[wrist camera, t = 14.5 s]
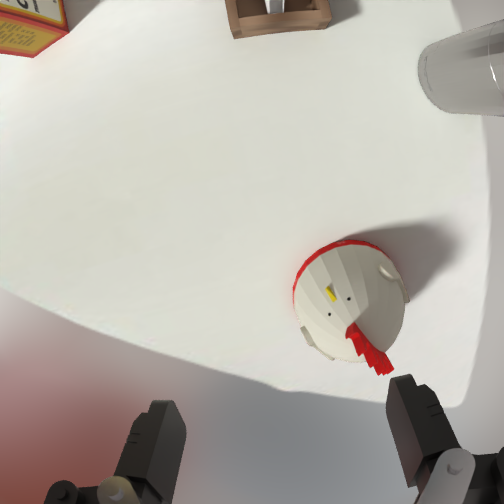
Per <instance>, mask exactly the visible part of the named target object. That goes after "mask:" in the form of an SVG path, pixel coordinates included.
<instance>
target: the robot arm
mask: <svg viewBox="0 0 504 504" xmlns="http://www.w3.org/2000/svg"><path fill="white" fill-rule="evenodd" d="M418 76H419V80H420V83H421V86H422V88H423V90H424V92H425V94H426V95H427V97H428V98H429V99H430V100H431V102H432V103H433V104H434V105H436V106H437V107H438V108H439V109H441V110H443V111H445V112H448V113H455V114H473V115H489V116H503V117H504V19H503V20H500V21H497V22H493V23H490V24H487V25H484V26H481V27H478V28H475V29H472V30H469V31H466V32H463V33H460V34H458V35H455V36H452V37H449V38H446V39H444V40H441V41H439V42H436V43H434V44H431V45H429V46H428V47H427V48H425V49H424V51H423V52H422V54H421V56H420V59H419V63H418ZM386 414H387V419H388V422H389V425H390V429H391V432H392V435H393V438H394V441H395V444H396V448H397V451H398V455H399V458H400V461H401V465H402V468H403V471H404V475H405V478H406V482H407V486H408V488H409V487H413V486H416V485H417V487H418V491H419V494H418V495H417V497H416V499H415V502H414V503H413V504H504V447H503V448H502V449H501V450H500V451H499V453H494V454H484V455H474V454H471V453H470V452H469V451H467V450H465V449H462V448H461V446H460V445H459V443H458V441H457V439H456V437H455V434H454V432H453V430H452V428H451V425H450V423H449V421H448V419H447V417H446V415H445V414H444V411H443V408H442V406H441V405H440V402H439V400H438V398H437V396H436V394H435V392H434V391H433V390H431V389H430V388H429V387H428V386H427V385H425V384H423V385H420V386H417V385H416V382H415V380H414V378H413V376H412V375H411V374H407V375H402V376H398V377H394V378H391V379H390V383H389V389H388V395H387V401H386ZM185 441H186V426H185V423H184V421H183V419H182V417H181V415H180V413H179V411H178V409H177V407H176V405H175V403H174V401H172V400H153V401H152V403H151V405H150V408H149V411H148V413H141V414H140V415H139V417H138V418H137V419H136V420H135V421H134V422H133V425H132V427H131V430H130V435H128V438H127V443H125V446H124V449H123V452H122V454H121V457H120V460H119V462H118V465H117V468H116V471H115V473H114V475H113V477H109V478H107V479H105V480H103V481H102V482H101V483H100V485H99V486H93V487H82V488H77V487H76V486H75V485H74V484H73V483H72V482H70V481H66V480H62V481H58V482H56V483H54V484H53V485H52V486H51V487H50V489H49V491H48V493H47V496H46V499H45V501H44V504H172V499H173V494H174V490H175V485H176V480H177V476H178V472H179V467H180V463H181V458H182V454H183V450H184V445H185Z"/></svg>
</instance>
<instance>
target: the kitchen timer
mask: <svg viewBox="0 0 504 504" xmlns="http://www.w3.org/2000/svg"><path fill="white" fill-rule="evenodd" d="M408 302H410V300H409V297H408V294H407V292H406V289H405V286H404V284H403V281H402V279H401V276H400V274H399V273H398V271H397V270H396V268H395V266H394V264H393V262H392V261H391V259H390V258H389V257H388V256H387V255H386V254H385V253H384V252H383V251H382V250H380V249H379V248H378V247H377V246H374V245H372V244H370V243H367V242H365V241H357V240H345V241H339V242H334V243H331V244H329V245H327V246H325V247H323V248H321V249H319V250H317V251H316V252H315V253H314V254H313V255H312V256H310V257H309V258H308V259H307V260H306V261H305V262H304V264H303V265H302V267H301V268H300V270H299V271H298V273H297V276H296V279H295V282H294V285H293V304H294V309H295V312H296V315H297V317H298V320H299V323H300V325H301V328H300V329H301V332H302V334H303V336H304V338H305V340H306V342H307V343H308V345H309V346H312V347H314V348H315V349H317V350H318V351H319V352H320V353H322V354H323V355H324V356H325V357H326V358H328V359H329V360H332V361H333V360H334V359H335V358H336V359H339V360H342V361H346V362H351V363H362V362H366V361H367V363H368V365H369V367H370V368H371V367H373V366H374V369H375V371H376V373H377V375H380V374H381V373H382V374H383V376H384V375H385V374H386V373H387V374H389V373H390V372H391V371H393V370H394V368H393V366H392V364H391V362H390V360H389V359H388V357H387V355H386V354H385V352H386V351H387V350H388V349H389V348H390V346H391V345H392V344H393V343H394V341H395V340H396V338H397V336H398V334H399V332H400V330H401V327H402V323H403V317H404V311H405V304H404V303H408Z"/></svg>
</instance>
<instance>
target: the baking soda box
mask: <svg viewBox="0 0 504 504" xmlns="http://www.w3.org/2000/svg"><path fill="white" fill-rule="evenodd" d="M68 33H69V28H68V24H67V19H66V14H65V10H64V5H63V0H0V54H8V55H16V56H23V57H30V58H34V57H35V56H37V55H38V54H39V53H41V52H42V51H43V50H45V49H46V48H48V47H49V46H50V45H52V44H53V43H55V42H56V41H58V40H59V39H61V38H62V37H64V36H65V35H67V34H68Z"/></svg>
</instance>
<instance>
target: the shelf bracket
mask: <svg viewBox="0 0 504 504" xmlns="http://www.w3.org/2000/svg"><path fill="white" fill-rule="evenodd" d="M265 4H266V8H267V13H268V14H274V13H283V12H284V0H265Z"/></svg>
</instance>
